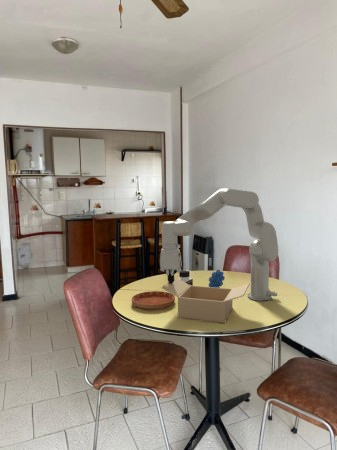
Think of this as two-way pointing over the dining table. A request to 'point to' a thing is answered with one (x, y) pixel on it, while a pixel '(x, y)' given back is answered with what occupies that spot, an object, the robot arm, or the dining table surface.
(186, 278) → the medicine bottle
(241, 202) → the robot arm
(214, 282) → the grapes
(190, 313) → the carton
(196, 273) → the dining table surface
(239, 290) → the near flap
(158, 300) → the saucer
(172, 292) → the far flap
